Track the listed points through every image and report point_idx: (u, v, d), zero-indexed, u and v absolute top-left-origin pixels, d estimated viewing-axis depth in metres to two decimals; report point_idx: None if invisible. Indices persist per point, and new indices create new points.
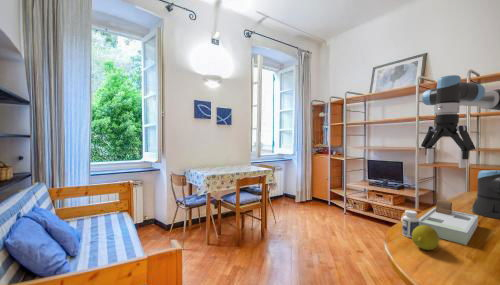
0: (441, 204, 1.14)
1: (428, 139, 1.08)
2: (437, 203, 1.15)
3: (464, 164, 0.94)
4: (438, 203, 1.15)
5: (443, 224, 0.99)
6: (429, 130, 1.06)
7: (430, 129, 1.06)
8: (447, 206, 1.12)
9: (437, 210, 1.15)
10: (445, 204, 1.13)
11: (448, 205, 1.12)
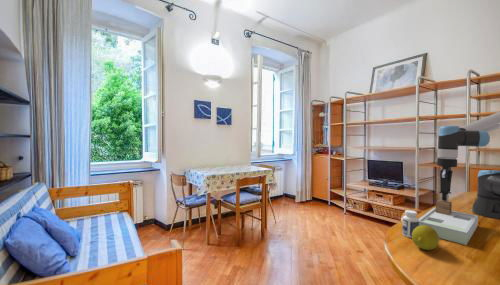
0: (441, 204, 1.14)
1: None
2: (437, 203, 1.15)
3: None
4: (438, 203, 1.14)
5: (443, 224, 0.99)
6: None
7: None
8: (447, 206, 1.12)
9: (437, 210, 1.15)
10: (445, 204, 1.12)
11: (448, 205, 1.12)
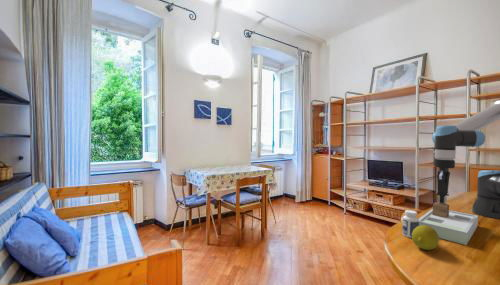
0: (438, 207, 1.10)
1: None
2: (433, 205, 1.11)
3: None
4: (434, 205, 1.10)
5: (443, 224, 0.99)
6: None
7: None
8: (444, 209, 1.08)
9: (433, 213, 1.11)
10: (442, 207, 1.08)
11: (445, 208, 1.08)
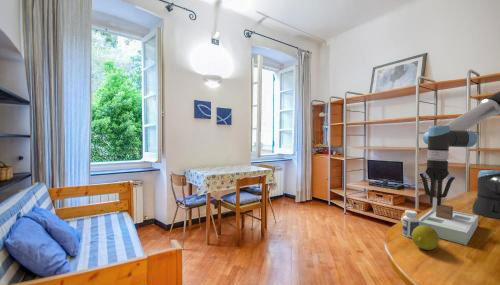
0: (441, 208, 1.07)
1: (427, 185, 1.12)
2: (437, 207, 1.09)
3: None
4: (438, 207, 1.08)
5: (443, 224, 0.99)
6: (422, 177, 1.13)
7: (422, 175, 1.13)
8: (448, 210, 1.06)
9: (437, 214, 1.09)
10: (446, 208, 1.06)
11: (449, 209, 1.05)
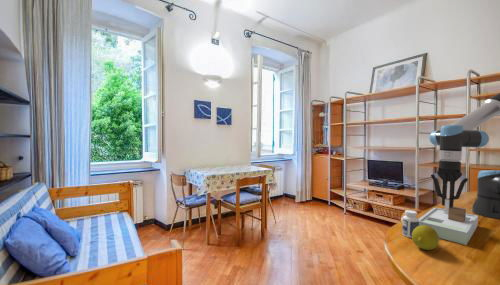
0: (454, 211, 1.04)
1: (438, 187, 1.09)
2: (449, 209, 1.05)
3: None
4: (451, 209, 1.05)
5: (443, 224, 0.99)
6: (434, 178, 1.10)
7: (434, 177, 1.10)
8: (461, 213, 1.02)
9: (449, 217, 1.05)
10: (458, 211, 1.03)
11: (462, 212, 1.02)
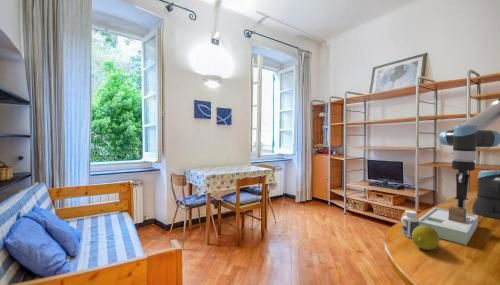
0: (454, 211, 1.03)
1: None
2: (450, 210, 1.04)
3: None
4: (451, 210, 1.04)
5: (443, 224, 0.99)
6: None
7: None
8: (461, 213, 1.02)
9: (450, 218, 1.05)
10: (459, 211, 1.02)
11: (462, 212, 1.01)
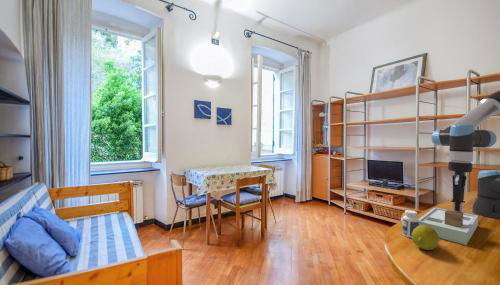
0: (450, 215, 0.98)
1: None
2: (446, 213, 1.00)
3: None
4: (447, 213, 0.99)
5: (443, 224, 0.99)
6: None
7: None
8: (458, 217, 0.97)
9: (446, 222, 1.00)
10: (455, 215, 0.97)
11: (459, 216, 0.96)
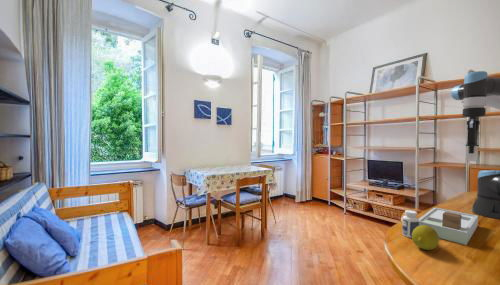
0: (448, 217, 0.96)
1: None
2: (444, 215, 0.97)
3: (472, 158, 1.08)
4: (445, 216, 0.97)
5: None
6: None
7: None
8: (456, 219, 0.94)
9: (444, 224, 0.97)
10: (453, 217, 0.95)
11: (457, 218, 0.94)
